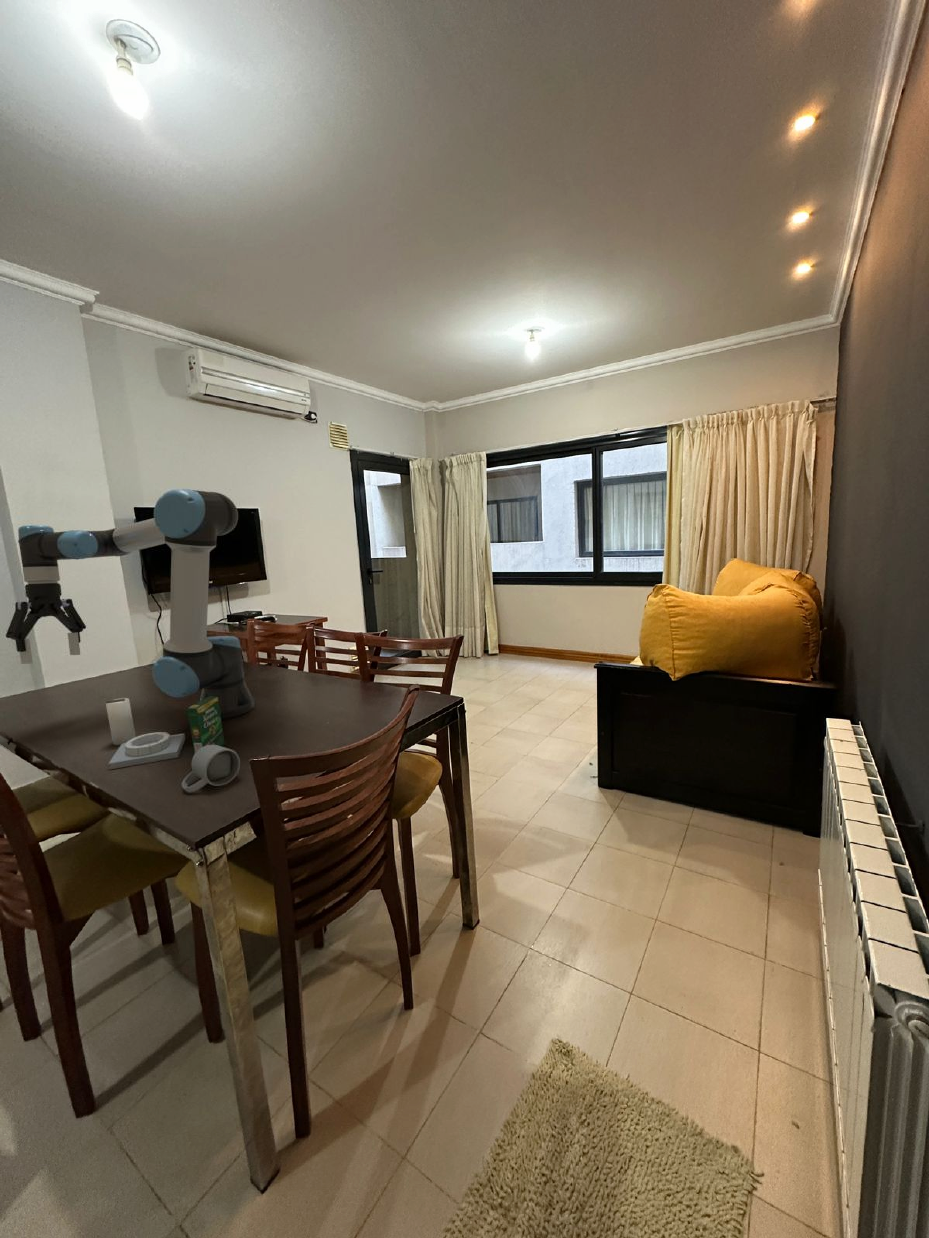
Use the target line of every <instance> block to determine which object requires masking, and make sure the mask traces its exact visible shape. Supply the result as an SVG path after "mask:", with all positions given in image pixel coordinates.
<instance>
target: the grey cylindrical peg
mask: <svg viewBox="0 0 929 1238" xmlns="http://www.w3.org/2000/svg"><path fill="white" fill-rule="evenodd" d="M105 706H106V707H105V708H106V713H107V718H108V722H109V729H110V735H111V740H112V744H113V745H114V746H121V744H122V743H126V742H127V741H129V740H131V739H133V738H135V737H136V732H135V727H134V719H133V715H132V714H133V713H132V708H131V702H130V698H129V697H121V698H115V699H111V700H107V701H105Z"/></svg>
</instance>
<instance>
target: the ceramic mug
mask: <svg viewBox="0 0 929 1238" xmlns="http://www.w3.org/2000/svg"><path fill="white" fill-rule="evenodd" d="M193 754H194V753H193ZM240 766H241V760H240V757H239V754H238V753H237V752H236V751H235V750H233V749H231V748H227V747H224V746H222V747H221V746H218V745H206V746H204V747H202V748H200V749H199V750H198V751H197V752H196V753H195V754H194V755H193V756H192V759H191V769H192V770H191V772H190V773H188V774H187V775H186V776H185V777H184V778H183V780H182V782H181V787H182V789H183V790H184V791H185V792H186V793H189V794H190V793H194V792H196V791H198V790H200V789H201V788H203V787H204V786H206V785H207V784H208V785H211V786H214V787H220V786H224V785H227V784H229V783H230V782H232V781H233V780H234V779H235V777H236V776H237V775H238V773H239V771H240V768H241V767H240ZM195 777H198V778H200V779H199V780H198V781H197V782H194V784H192V785H190V786H189V784H190V783H191V781H193V780H194V779H195Z"/></svg>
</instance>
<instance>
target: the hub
mask: <svg viewBox="0 0 929 1238" xmlns="http://www.w3.org/2000/svg"><path fill="white" fill-rule="evenodd" d="M185 740H186V735H185V733H184V732H183V733H177V734H172V735H171V734H170V733H168V732H166V731H163V732H162V731H158V732H157V731H156V732H149V733H145V734H141V735H138V736H135V738H133V739H131V740H129V741H127V742H126V743H122V744H121V745H119V747H118V749H117V750H116V752H115V753H114V755H113V756H112V758H110V761H109V762H108V768H109V769H110V770H115V769H120V768H126V767H132V766H137V765H143V764H149V763H155V762H160V761H167V760H172V759H176V758H177V759H178V758H179V756H180V754H181V751H182V749H183V745H184V743H185Z"/></svg>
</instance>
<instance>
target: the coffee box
mask: <svg viewBox="0 0 929 1238" xmlns="http://www.w3.org/2000/svg"><path fill="white" fill-rule="evenodd" d="M187 714H188V720H189V727H190V733H191V738H192V740H191V741H192V745H193V754H195V753H196V752H197V751H198V750H199V749H200V748H202V747H204V746H206V745H218V746H221V747H224V745H225V739H224V731H223V725H222V719H221V717H220V710H219V703H218V697H215V696H208V697H207V698H205V699H203V700H202V701H200V700H199V702H196V703H195V704H192V705H191V706H189V707H187Z"/></svg>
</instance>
